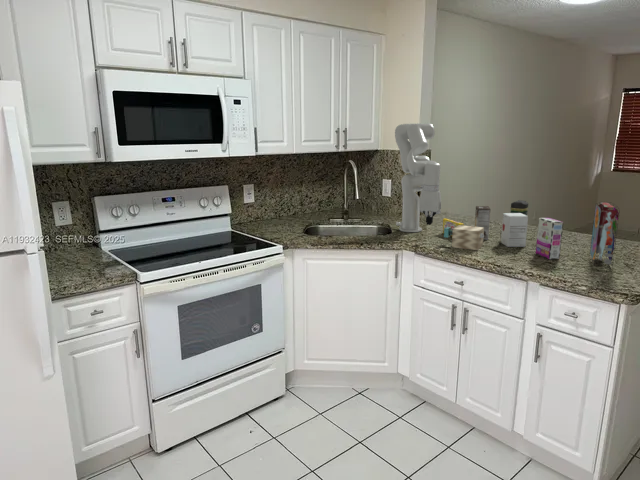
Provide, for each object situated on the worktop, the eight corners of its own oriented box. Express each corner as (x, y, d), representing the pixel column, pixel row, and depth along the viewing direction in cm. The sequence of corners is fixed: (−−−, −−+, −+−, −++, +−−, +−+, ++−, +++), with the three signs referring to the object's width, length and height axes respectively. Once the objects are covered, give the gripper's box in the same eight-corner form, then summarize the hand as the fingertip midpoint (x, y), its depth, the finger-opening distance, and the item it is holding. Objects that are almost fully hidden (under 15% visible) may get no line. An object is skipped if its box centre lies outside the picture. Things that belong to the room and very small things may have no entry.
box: (586, 252, 203) (593, 198, 197) (602, 254, 200) (609, 199, 195) (594, 268, 181) (601, 207, 175) (612, 269, 178) (620, 208, 173)
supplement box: (500, 242, 225) (502, 212, 221) (518, 242, 224) (521, 212, 221) (506, 247, 216) (509, 216, 212) (526, 246, 215) (528, 215, 212)
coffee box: (473, 235, 241) (475, 205, 237) (486, 235, 239) (488, 205, 236) (475, 239, 232) (477, 208, 228) (488, 239, 231) (491, 208, 227)
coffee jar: (522, 238, 233) (525, 202, 229) (506, 236, 238) (509, 201, 233) (527, 234, 240) (530, 200, 236) (511, 232, 245) (514, 198, 241)
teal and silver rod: (443, 237, 221) (444, 228, 220) (446, 235, 225) (447, 226, 224) (481, 241, 212) (482, 232, 211) (484, 239, 215) (484, 230, 214)
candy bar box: (560, 259, 193) (564, 221, 190) (549, 259, 193) (553, 222, 189) (545, 252, 204) (549, 217, 201) (534, 253, 204) (538, 217, 200)
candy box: (442, 233, 248) (442, 218, 246) (445, 233, 248) (446, 218, 247) (460, 239, 233) (461, 223, 231) (463, 239, 234) (464, 223, 232)
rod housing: (451, 247, 217) (452, 228, 215) (458, 242, 225) (458, 225, 223) (477, 250, 211) (478, 231, 209) (482, 245, 219) (484, 227, 217)
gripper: (413, 188, 223) (412, 224, 228) (443, 190, 215) (441, 227, 221) (419, 185, 229) (417, 220, 234) (448, 188, 222) (446, 224, 227)
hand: (429, 224), depth 228 cm, fingers closed
